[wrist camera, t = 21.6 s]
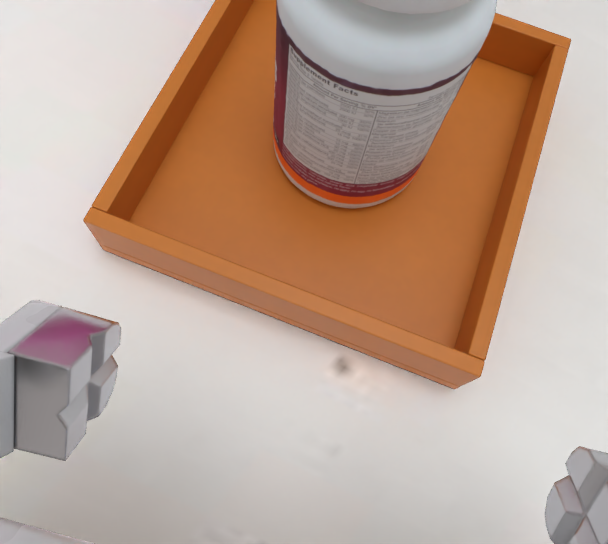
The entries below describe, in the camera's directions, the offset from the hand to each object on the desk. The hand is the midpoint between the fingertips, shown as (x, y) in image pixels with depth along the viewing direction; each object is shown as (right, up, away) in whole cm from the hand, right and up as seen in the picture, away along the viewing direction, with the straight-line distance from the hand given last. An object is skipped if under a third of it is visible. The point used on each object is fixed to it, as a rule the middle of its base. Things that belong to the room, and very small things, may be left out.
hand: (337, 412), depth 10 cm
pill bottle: (+1, +8, +13) cm, 15 cm away
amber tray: (+1, +7, +14) cm, 15 cm away
